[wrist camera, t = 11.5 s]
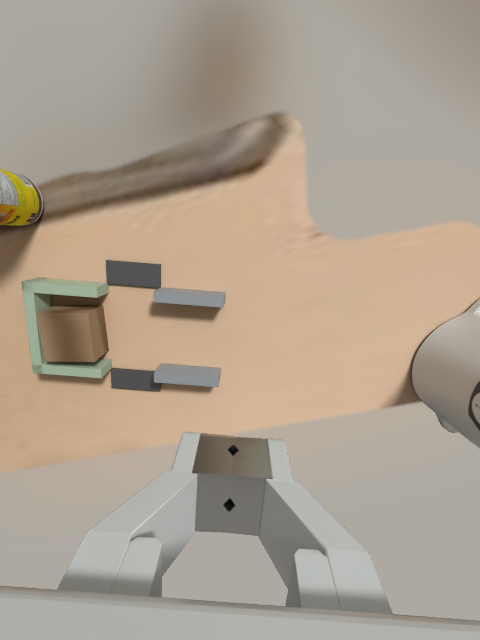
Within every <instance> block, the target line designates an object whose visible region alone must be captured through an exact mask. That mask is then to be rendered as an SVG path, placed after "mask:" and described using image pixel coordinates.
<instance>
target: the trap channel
mask: <svg viewBox="0 0 480 640" xmlns="http://www.w3.org/2000/svg"><path fill="white" fill-rule="evenodd" d="M106 272H107V283H99V282H86V281H73V280H61V279H48V278H36V279H31V280H26V281H22V289H23V297H24V305H25V313H26V321H27V329H28V337H29V345H30V353H31V361H32V369H33V373H40V374H53V375H66V376H79V377H92V378H102V377H103V376H104V375H105V374H106V373H107V372H108V371H109V370H110V369H111V383H112V388H120V389H134V390H147V391H160V383H169V384H182V385H195V386H208V387H218V386H219V380H220V371H221V368H213V367H200V366H187V365H174V364H161V363H160V365H159V366H158V368H157V370H156V371H145V370H132V369H119V368H112V360H110V359H98V360H96V361H95V362H49V361H45V359H44V354H43V348H42V343H41V338H40V333H39V327H38V322H37V317H36V313H37V312H39V311H42V310H45V309H47V308H50V307H52V306H51V296H50V294H56V295H69V296H81V297H94V298H98V297H100V296H102V295H105V294H107V293H109V292H108V284H118V285H131V286H144V287H156V288H159V289H157V290H156V291H154V302H158V303H171V304H183V305H196V306H209V307H222V308H223V307H224V303H225V293H226V292H213V291H201V290H188V289H175V288H162V287H161V264H149V263H136V262H124V261H111V260H106Z"/></svg>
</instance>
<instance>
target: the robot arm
mask: <svg viewBox="0 0 480 640" xmlns="http://www.w3.org/2000/svg"><path fill="white" fill-rule="evenodd" d="M412 382H413V386H414V389H415V391H416V393H417V395H418V397H419V398H420V399H421V401H422V402H423V403H424V404H426V405H427V406H428V407H429V408H431V409H432V410H433V411H434V412H435V413H436V415H437V418H438V420H439V422H440V424H441V425H442V426H443V427H444V428H445V429H446V430H448V431H449V432H452V433H455V432H459V433H460V434H462V435H463V436H464V437H466V438H467V439H468V440H470V441H471V442H472V443H474V444H475V445H476V446H477V447H479V448H480V299H479V300H478V301H476V302H475V303H474V304H473V305H472V306H471V307H470V308H469V309H468V310H467V311H466V312H465V313H463V314H462V315H460V316H458V317H456V318H454V319H452V320H449V321H448V322H446V323H444V324H443V325H441V326H440V327H438V328H437V329H436V330H434V331H433V332H432V333H431V334H430V335H429V336H428V337H427V338H426V340H425V341H424V342H423V344H422V345H421V347H420V348H419V350H418V352H417V354H416V356H415V359H414V362H413V367H412ZM195 531H202V532H226V533H236V534H245V535H255V536H259V539H260V540H261V542H262V544H263V546H264V547H265V549H266V551H267V553H268V555H269V556H270V558H271V560H272V562H273V563H274V565H275V567H276V568H277V571H278V572H279V574H280V576H281V578H282V579H283V581H284V583H285V585H286V586H287V588H288V594H287V600H286V606H285V607H284V606H271V605H257V604H243V603H230V602H216V601H203V600H189V599H176V598H162V594H161V593H162V576H163V574H164V573H165V572H166V570H167V569H168V568H169V566H170V565H171V564H172V562H173V561H174V560H175V559H176V557H177V556H178V555H179V553H180V552H181V551H182V549H183V548H184V547H185V545H186V544H187V543H188V542H189V540H190V539H191V538H192V536H193V535H194V533H195ZM0 640H480V621H476V620H462V619H449V618H448V619H447V618H435V617H422V616H408V615H394V614H392V611H391V608H390V606H389V603H388V601H387V598H386V595H385V593H384V590H383V588H382V585H381V583H380V580H379V578H378V575H377V572H376V570H375V567H374V565H373V562H372V560H371V557H370V554H369V553H368V551H367V550H366V549H365V548H364V547H363V546H362V545H361V544H360V543H359V542H358V541H357V540H356V539H355V538H354V537H353V536H352V535H351V534H350V533H349V532H348V531H347V530H346V529H345V528H344V527H343V526H342V525H341V524H340V523H339V522H338V521H337V520H336V519H335V518H334V517H333V516H332V515H331V514H330V513H329V512H328V511H327V510H326V509H325V508H324V507H323V506H322V505H321V504H320V503H319V502H318V501H317V500H316V499H315V498H314V497H313V496H312V495H311V494H310V493H309V492H308V491H307V490H306V489H305V488H304V487H303V486H302V485H301V484H300V483H299V482H298V481H293V478H292V474H291V468H290V463H289V459H288V453H287V448H286V443H285V440H284V439H273V438H267V439H262V438H248V437H234V436H227V435H217V434H207V433H196V432H184V433H183V434H182V437H181V440H180V443H179V447H178V450H177V453H176V456H175V459H174V463H173V466H172V469H171V472H168V471H165V472H164V473H163V474H161V475H160V476H159V477H157V478H156V479H155V480H153V481H152V482H151V483H150V484H148V485H147V486H146V487H144V488H143V489H142V490H141V491H140V492H138V493H137V494H135V495H134V496H133V497H131V498H130V499H129V500H128V501H126V502H125V503H124V504H122V505H121V506H120V507H119V508H117V509H116V510H115V511H113V512H112V513H111V514H110V515H108V516H107V517H106V518H104V519H103V520H102V521H100V522H99V523H98V524H96V525H95V526H94V527H93V528H91V529H90V530H89V531H88V533H87V534H86V536H85V538H84V540H83V542H82V543H81V545H80V547H79V549H78V551H77V553H76V555H75V557H74V559H73V560H72V562H71V564H70V566H69V568H68V570H67V572H66V574H65V575H64V577H63V579H62V581H61V583H60V585H59V587H58V588H57V590H52V589H39V588H25V587H11V586H0Z"/></svg>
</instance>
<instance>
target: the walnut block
mask: <svg viewBox="0 0 480 640" xmlns="http://www.w3.org/2000/svg"><path fill="white" fill-rule="evenodd" d="M36 317H37V322H38V327H39V333H40V338H41V343H42V348H43V354H44V359H45V361H49V362H95V361H96V360H98V359H99V358H100V357H101V356H102V355H103V354H105V353H106V352H107V351H108V350H109V348H108V340H107V332H106V324H105V316H104V309H103V306H100V305H55V306H53V307H50V308H47V309H45V310H42V311H39V312H37V313H36Z"/></svg>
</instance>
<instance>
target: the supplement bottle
mask: <svg viewBox="0 0 480 640" xmlns="http://www.w3.org/2000/svg"><path fill="white" fill-rule="evenodd" d="M42 211H43V198H42V195H41V192H40V190H39V189H38V187H37V186H36V185H35V184H34V183H33V182H32V181H31V180H30V179H28V178H27V177H25V176H23V175H20V174H16V173H13V172H9V171H6V170H2V169H0V225H15V226H24V225H29V224H32V223H34V222H35V221H37V220H38V219H39V217H40V216H41V214H42Z"/></svg>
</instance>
